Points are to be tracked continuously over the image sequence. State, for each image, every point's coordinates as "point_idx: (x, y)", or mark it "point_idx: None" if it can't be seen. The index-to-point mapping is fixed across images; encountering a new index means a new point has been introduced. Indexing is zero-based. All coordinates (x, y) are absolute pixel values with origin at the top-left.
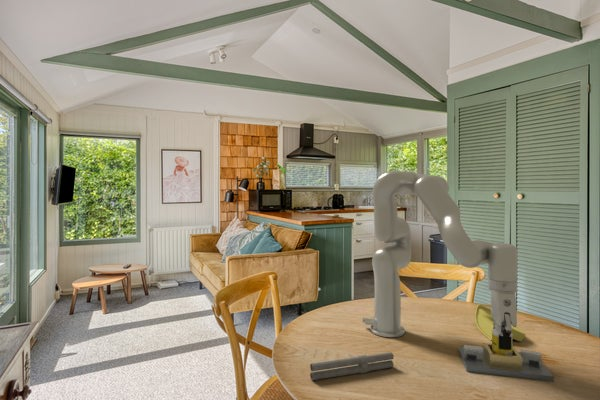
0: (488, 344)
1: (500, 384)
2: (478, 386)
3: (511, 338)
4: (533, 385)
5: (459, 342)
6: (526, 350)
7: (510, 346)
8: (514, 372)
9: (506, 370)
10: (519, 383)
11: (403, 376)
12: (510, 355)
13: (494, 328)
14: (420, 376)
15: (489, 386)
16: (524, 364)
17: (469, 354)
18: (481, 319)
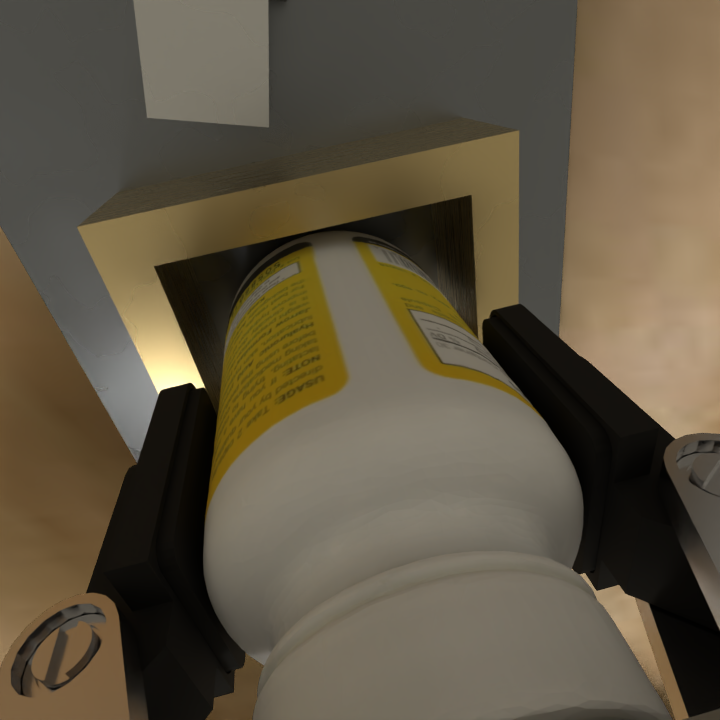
0: None
1: (670, 298)
2: (702, 409)
3: (492, 377)
4: (664, 31)
5: (32, 588)
6: (168, 10)
7: (538, 332)
8: (561, 205)
9: (555, 274)
10: (641, 161)
11: (636, 644)
12: (483, 277)
13: (232, 669)
14: (627, 609)
15: (700, 358)
16: (344, 74)
17: None
18: None
